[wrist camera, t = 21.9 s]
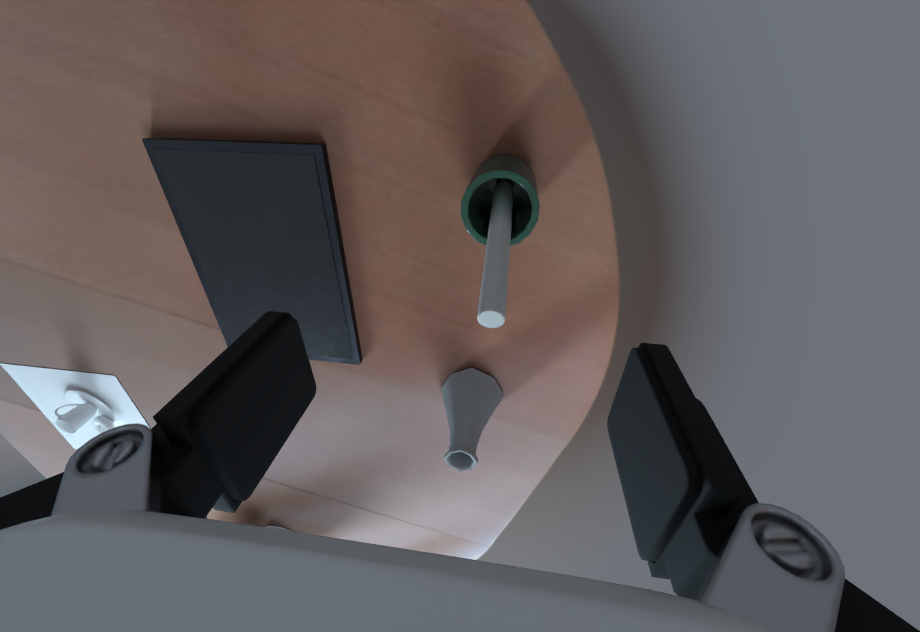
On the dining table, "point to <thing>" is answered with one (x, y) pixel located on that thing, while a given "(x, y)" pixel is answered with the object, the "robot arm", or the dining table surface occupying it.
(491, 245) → the stylus
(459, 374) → the flask
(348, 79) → the dining table surface
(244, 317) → the tablet
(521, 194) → the pen holder
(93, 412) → the teacup and saucer
